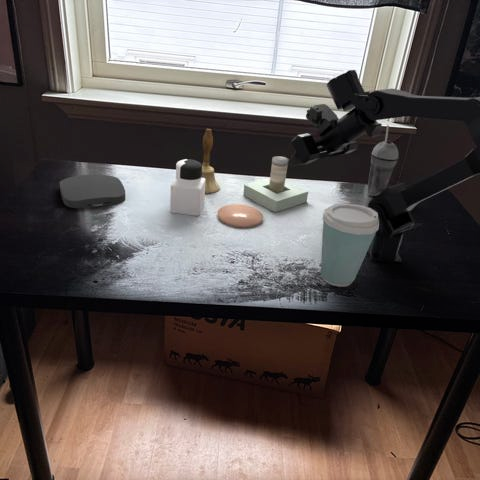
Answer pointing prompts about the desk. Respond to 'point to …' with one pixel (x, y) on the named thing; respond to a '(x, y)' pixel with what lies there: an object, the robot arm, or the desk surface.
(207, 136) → the hand bell
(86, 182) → the media streaming box
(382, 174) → the beverage cup
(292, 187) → the socket block
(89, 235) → the desk surface
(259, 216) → the terracotta coaster
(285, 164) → the beige cylinder
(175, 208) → the medicine bottle
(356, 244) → the disposable coffee cup
